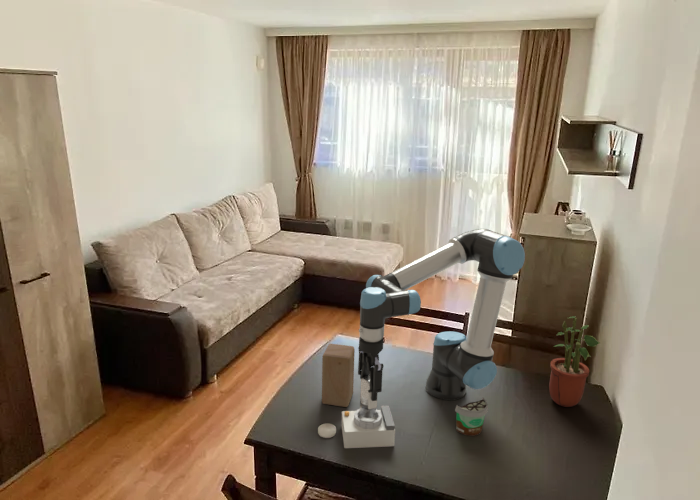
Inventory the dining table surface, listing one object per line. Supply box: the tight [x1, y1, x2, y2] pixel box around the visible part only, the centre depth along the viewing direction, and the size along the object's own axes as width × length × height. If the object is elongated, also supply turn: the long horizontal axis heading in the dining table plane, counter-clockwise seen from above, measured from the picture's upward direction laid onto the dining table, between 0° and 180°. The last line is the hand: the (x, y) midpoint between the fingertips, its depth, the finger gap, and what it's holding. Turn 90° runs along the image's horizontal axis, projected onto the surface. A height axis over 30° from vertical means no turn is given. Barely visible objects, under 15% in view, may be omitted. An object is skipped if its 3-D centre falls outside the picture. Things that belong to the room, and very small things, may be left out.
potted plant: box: [548, 315, 601, 408], centre depth 183 cm, size 17×16×35 cm
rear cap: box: [317, 422, 337, 439], centre depth 165 cm, size 6×6×2 cm
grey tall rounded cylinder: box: [359, 376, 377, 418], centre depth 159 cm, size 5×5×12 cm
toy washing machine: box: [340, 405, 396, 449], centre depth 163 cm, size 16×11×8 cm
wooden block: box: [321, 343, 356, 408], centre depth 181 cm, size 10×10×20 cm
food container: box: [454, 397, 489, 437], centre depth 166 cm, size 12×6×10 cm, turn 117°
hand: (368, 402), depth 160 cm, fingers closed on grey tall rounded cylinder, 5 cm apart
